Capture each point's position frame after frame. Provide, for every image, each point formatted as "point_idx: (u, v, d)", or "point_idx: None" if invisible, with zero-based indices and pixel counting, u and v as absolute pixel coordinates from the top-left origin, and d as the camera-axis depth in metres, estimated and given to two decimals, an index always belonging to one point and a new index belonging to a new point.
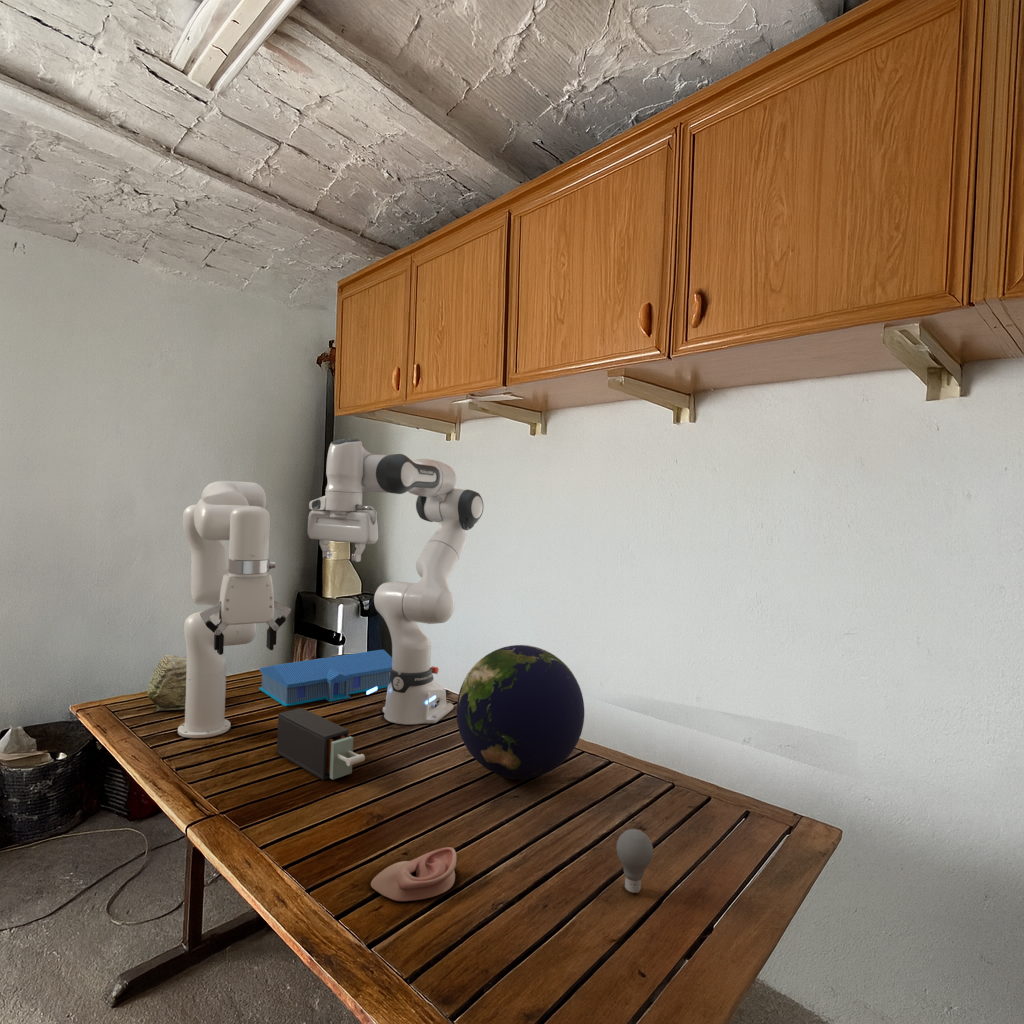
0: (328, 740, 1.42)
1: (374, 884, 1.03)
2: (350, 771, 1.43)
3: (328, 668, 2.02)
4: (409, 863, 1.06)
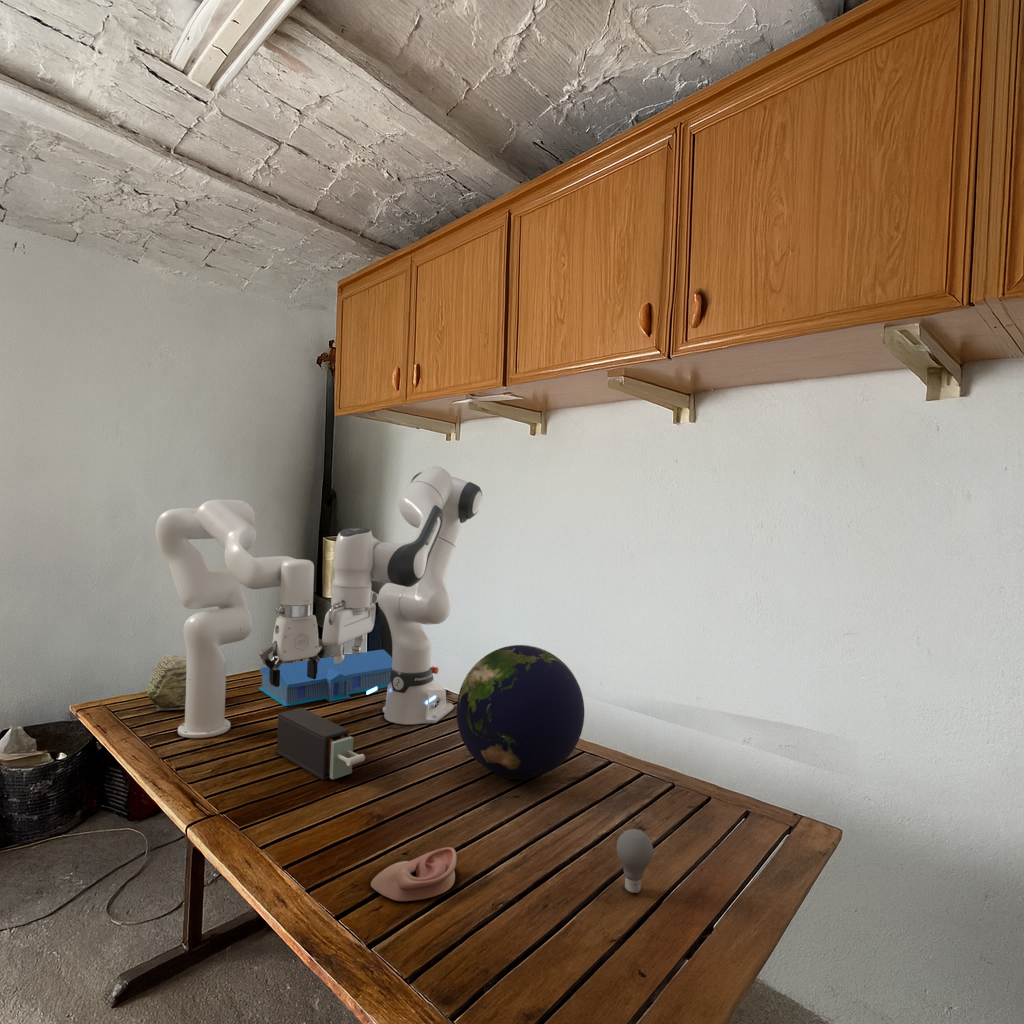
0: (328, 740, 1.42)
1: (374, 884, 1.03)
2: (350, 771, 1.43)
3: (328, 668, 2.02)
4: (409, 863, 1.06)
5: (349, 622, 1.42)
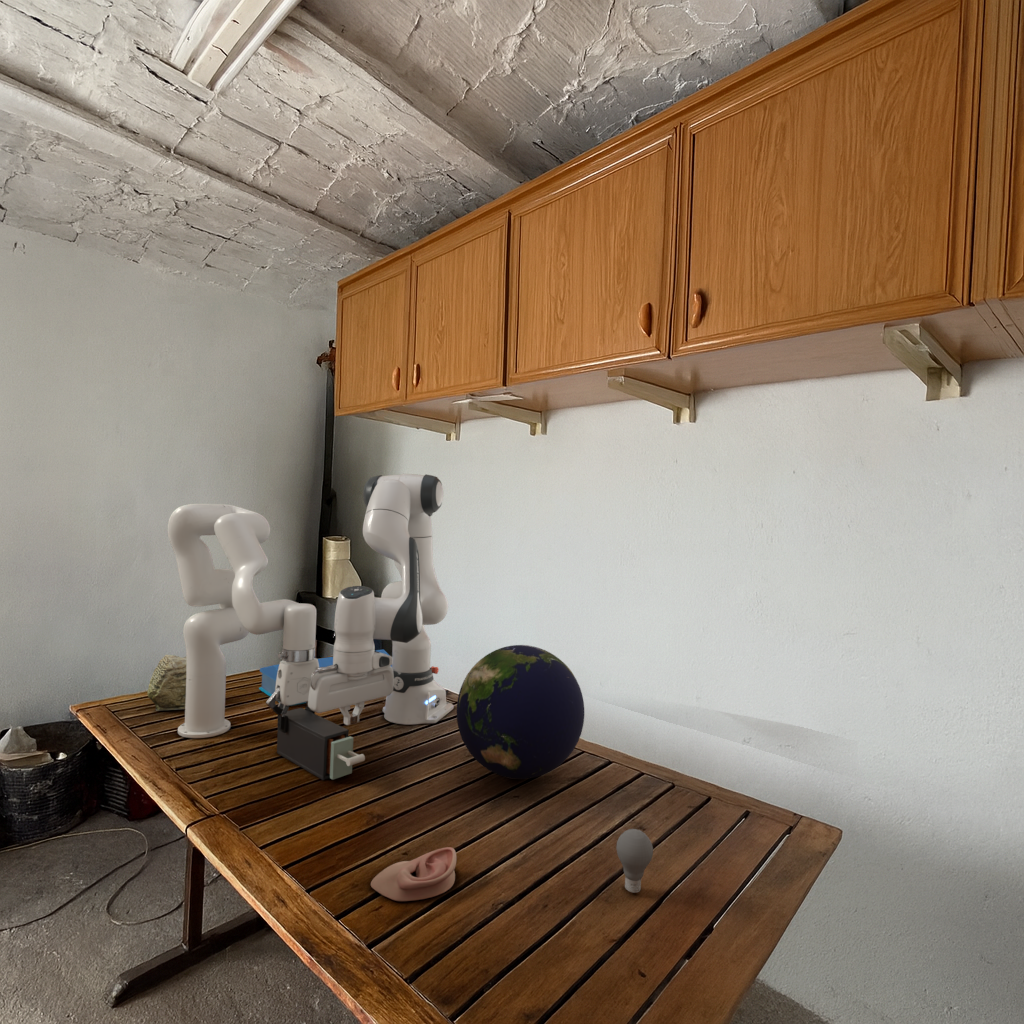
0: (328, 740, 1.42)
1: (374, 884, 1.03)
2: (350, 771, 1.43)
3: None
4: (409, 863, 1.06)
5: (342, 687, 1.36)
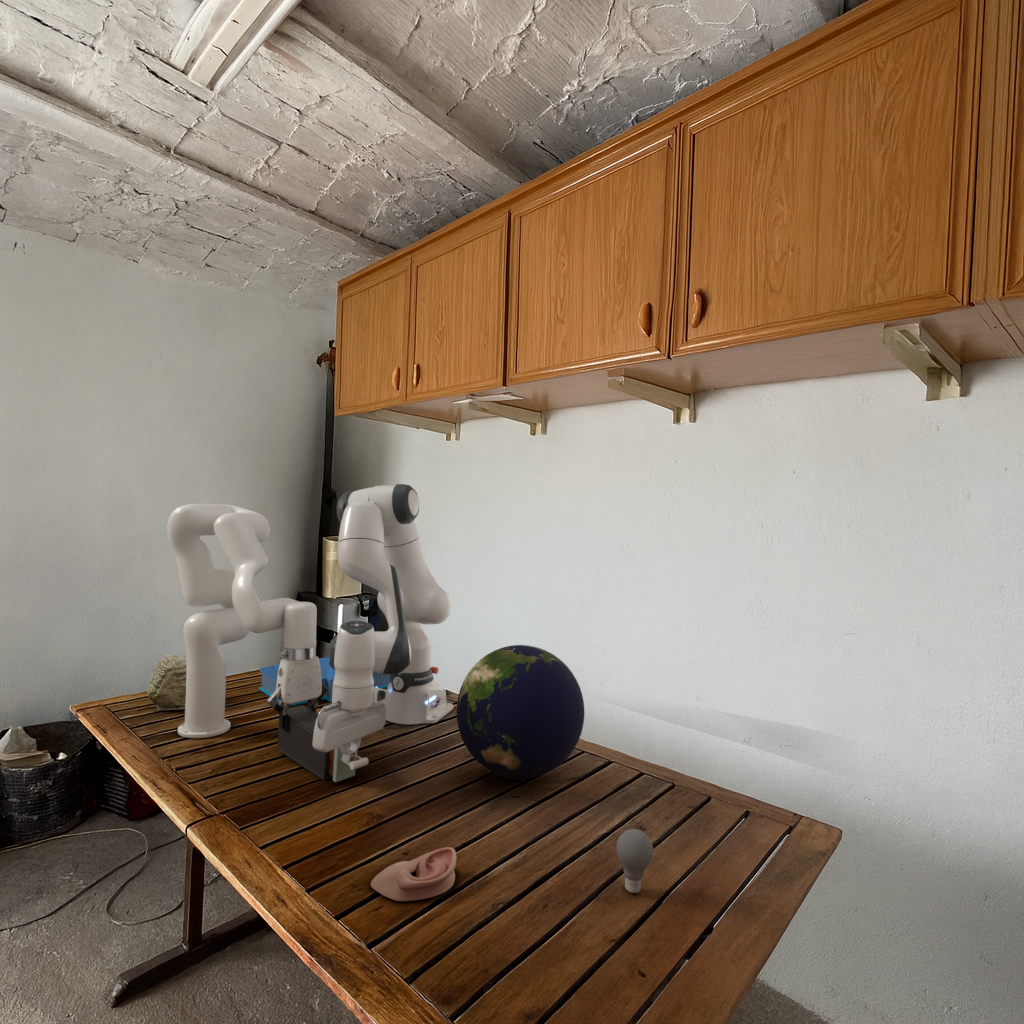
0: None
1: (374, 884, 1.03)
2: (353, 774, 1.43)
3: (328, 668, 2.02)
4: (409, 863, 1.06)
5: (345, 724, 1.35)
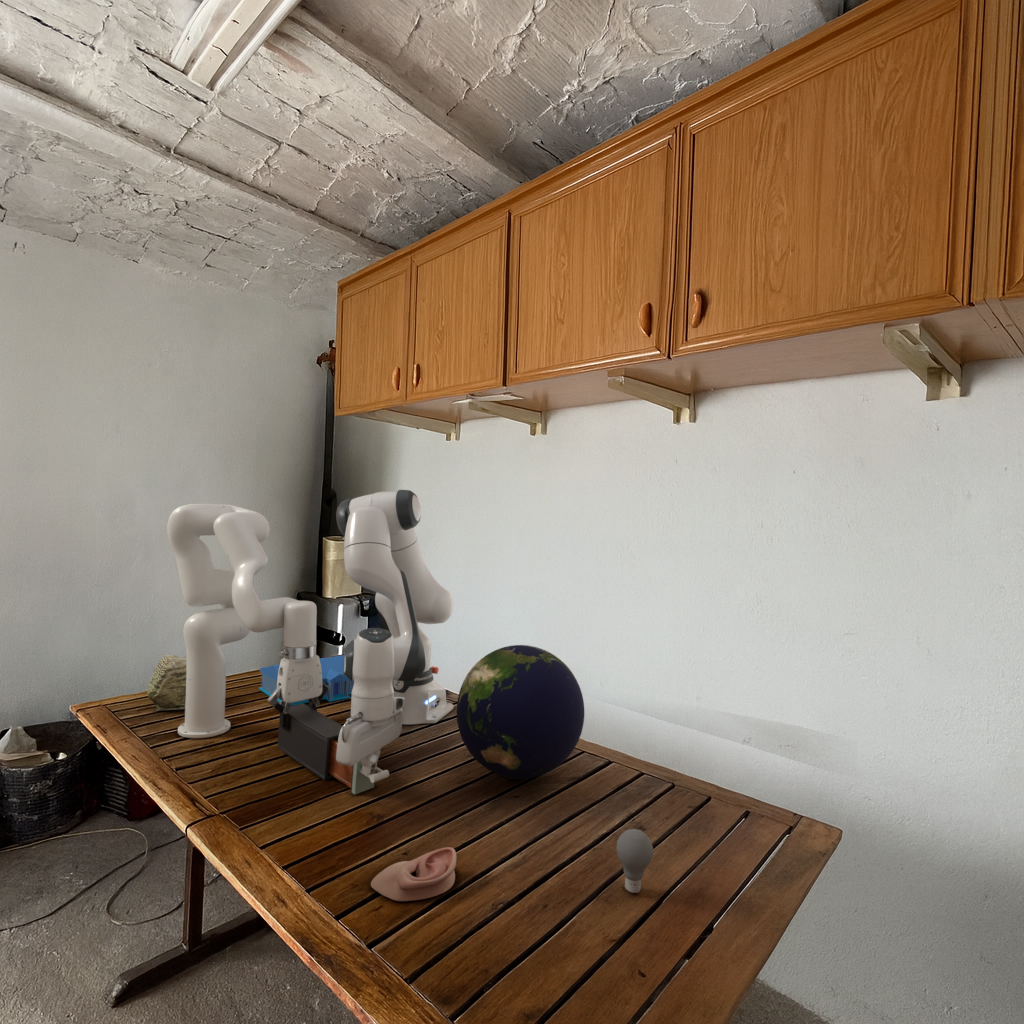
0: None
1: (374, 884, 1.03)
2: (372, 785, 1.39)
3: (328, 668, 2.02)
4: (409, 863, 1.06)
5: (367, 735, 1.31)
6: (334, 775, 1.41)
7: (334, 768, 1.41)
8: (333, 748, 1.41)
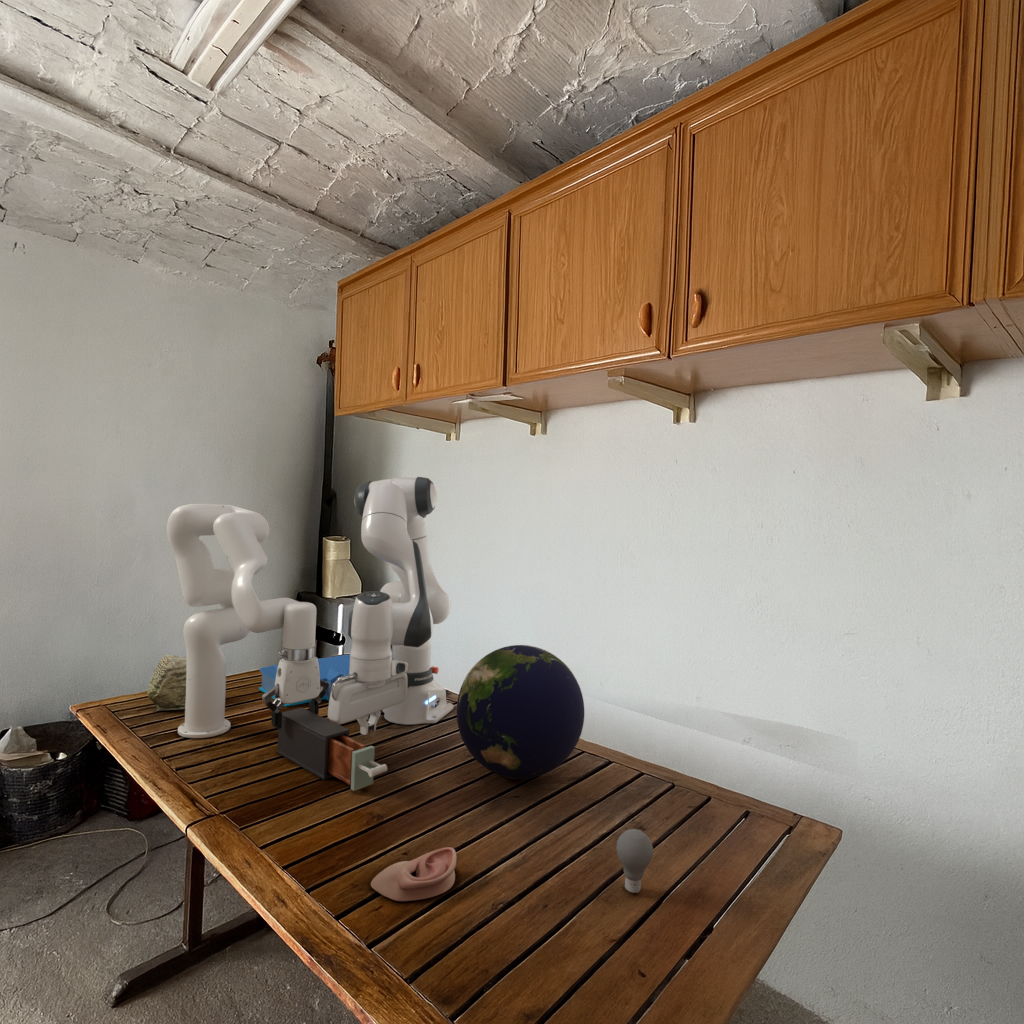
0: (349, 750, 1.38)
1: (374, 884, 1.03)
2: (371, 782, 1.39)
3: (328, 668, 2.02)
4: (409, 863, 1.06)
5: (362, 696, 1.32)
6: (333, 774, 1.41)
7: (333, 766, 1.41)
8: (331, 747, 1.42)
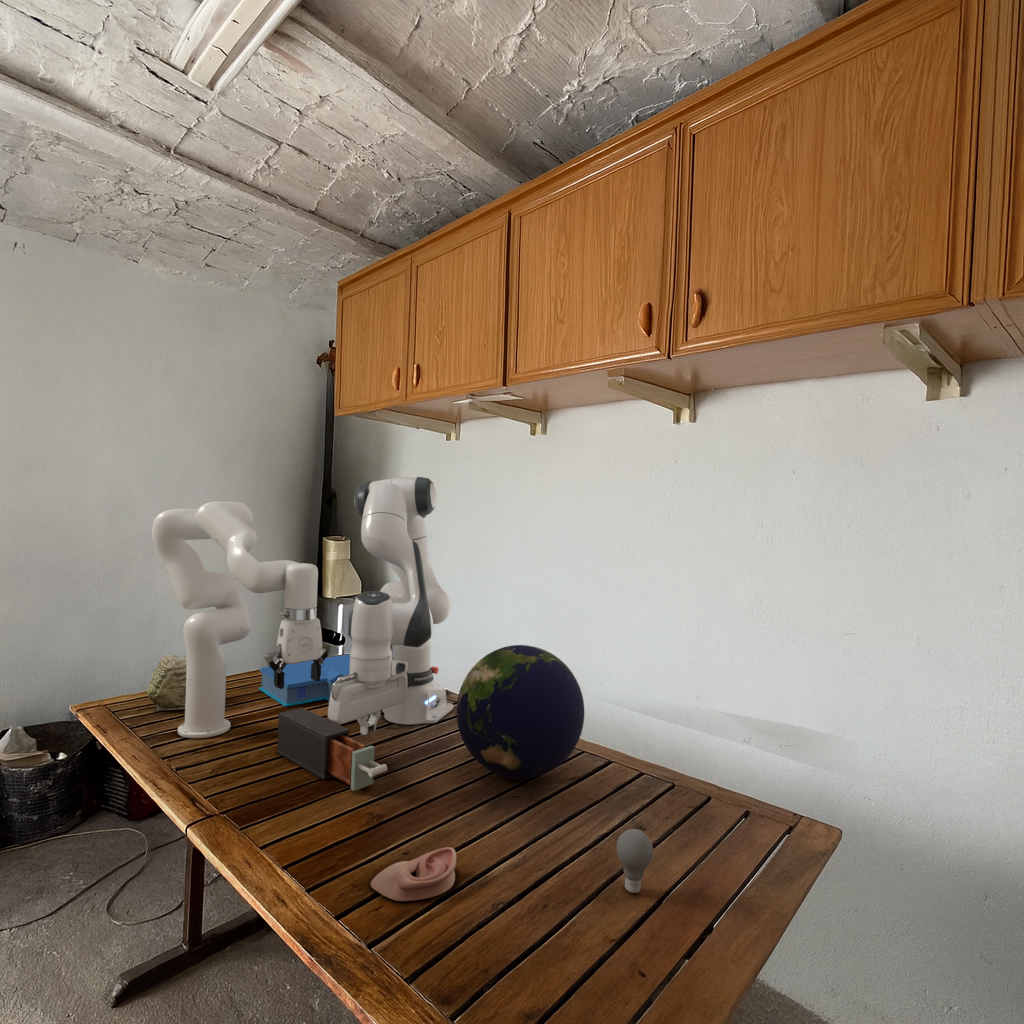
0: (349, 750, 1.38)
1: (374, 884, 1.03)
2: (371, 782, 1.39)
3: (328, 668, 2.02)
4: (409, 863, 1.06)
5: (362, 696, 1.32)
6: (333, 774, 1.41)
7: (333, 766, 1.41)
8: (331, 747, 1.42)
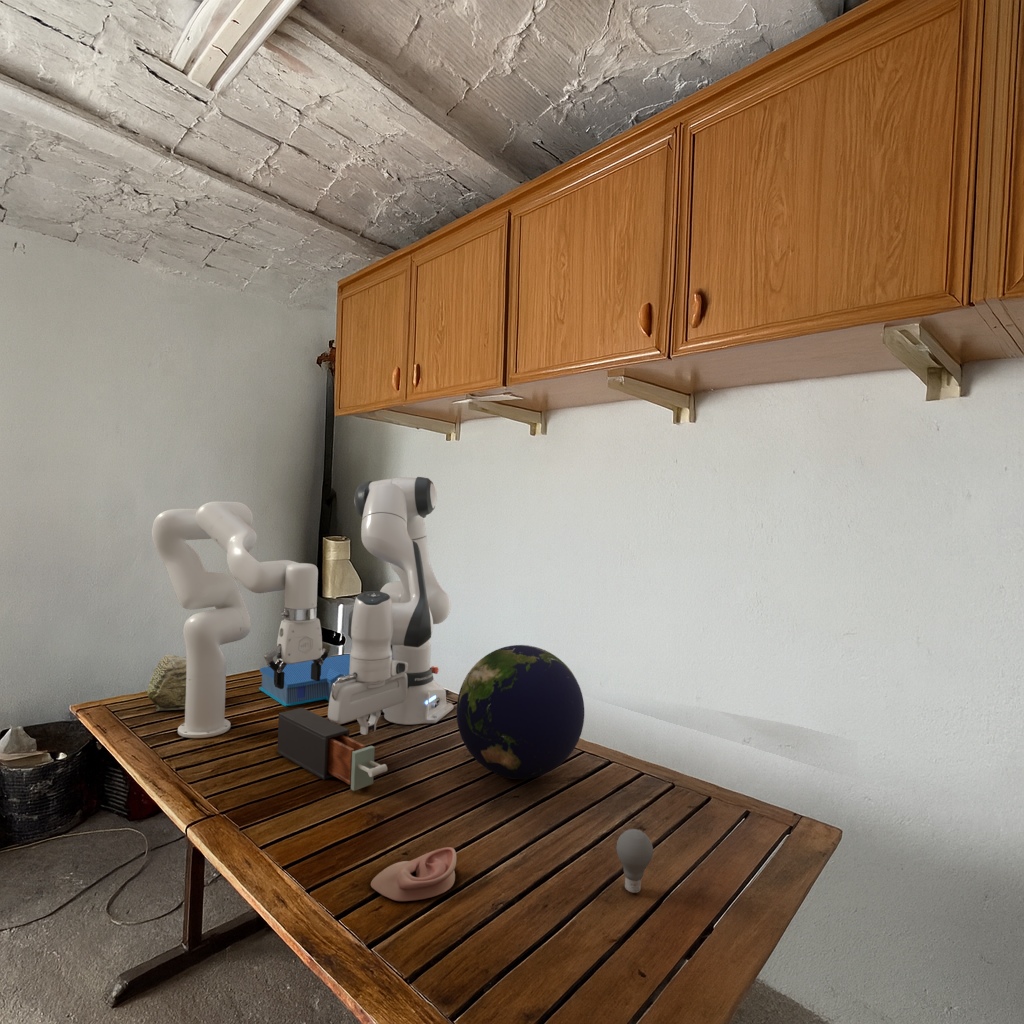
0: (349, 750, 1.38)
1: (374, 884, 1.03)
2: (371, 782, 1.39)
3: (328, 668, 2.02)
4: (409, 863, 1.06)
5: (362, 696, 1.32)
6: (333, 774, 1.41)
7: (333, 766, 1.41)
8: (331, 747, 1.42)
